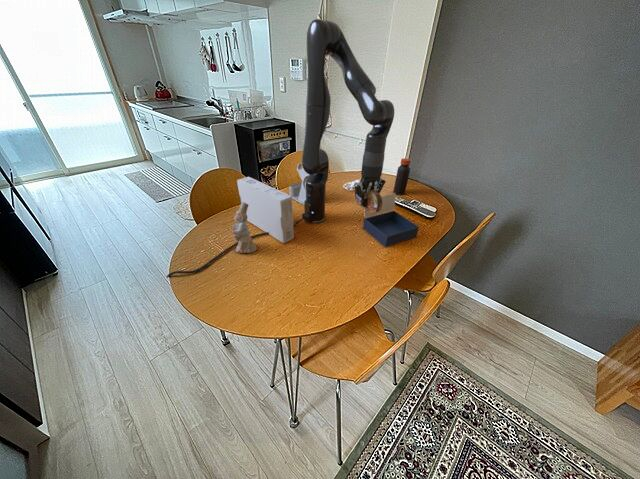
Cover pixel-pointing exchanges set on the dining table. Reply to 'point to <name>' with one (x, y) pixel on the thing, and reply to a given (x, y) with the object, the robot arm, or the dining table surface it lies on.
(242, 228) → the figurine
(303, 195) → the phone holder
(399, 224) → the carton
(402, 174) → the bottle
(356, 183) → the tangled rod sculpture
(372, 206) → the tin
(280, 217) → the packaging
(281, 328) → the dining table surface
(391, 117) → the robot arm
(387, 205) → the carton flap
